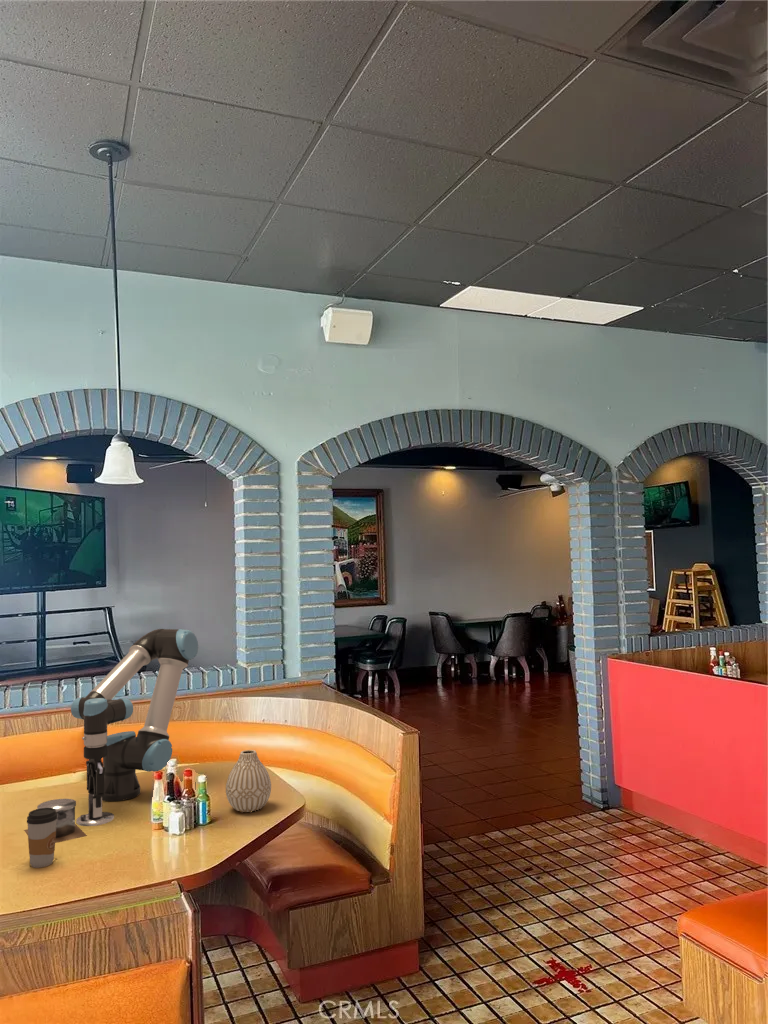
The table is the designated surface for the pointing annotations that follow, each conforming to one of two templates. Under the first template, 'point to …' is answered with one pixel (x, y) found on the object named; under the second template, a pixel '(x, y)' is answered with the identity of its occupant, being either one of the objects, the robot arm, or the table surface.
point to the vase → (248, 783)
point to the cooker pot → (62, 815)
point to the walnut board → (75, 834)
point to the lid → (88, 818)
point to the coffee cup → (41, 836)
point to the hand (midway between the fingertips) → (95, 814)
